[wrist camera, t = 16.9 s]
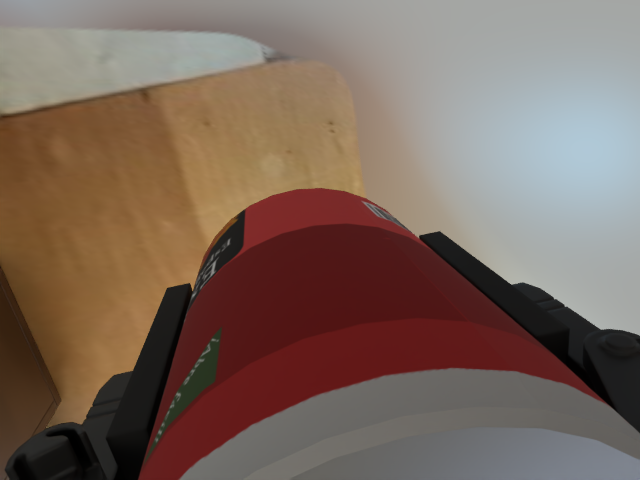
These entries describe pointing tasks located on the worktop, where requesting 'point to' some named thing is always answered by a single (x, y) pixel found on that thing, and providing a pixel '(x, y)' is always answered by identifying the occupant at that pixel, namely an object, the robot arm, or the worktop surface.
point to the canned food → (365, 364)
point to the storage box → (20, 381)
